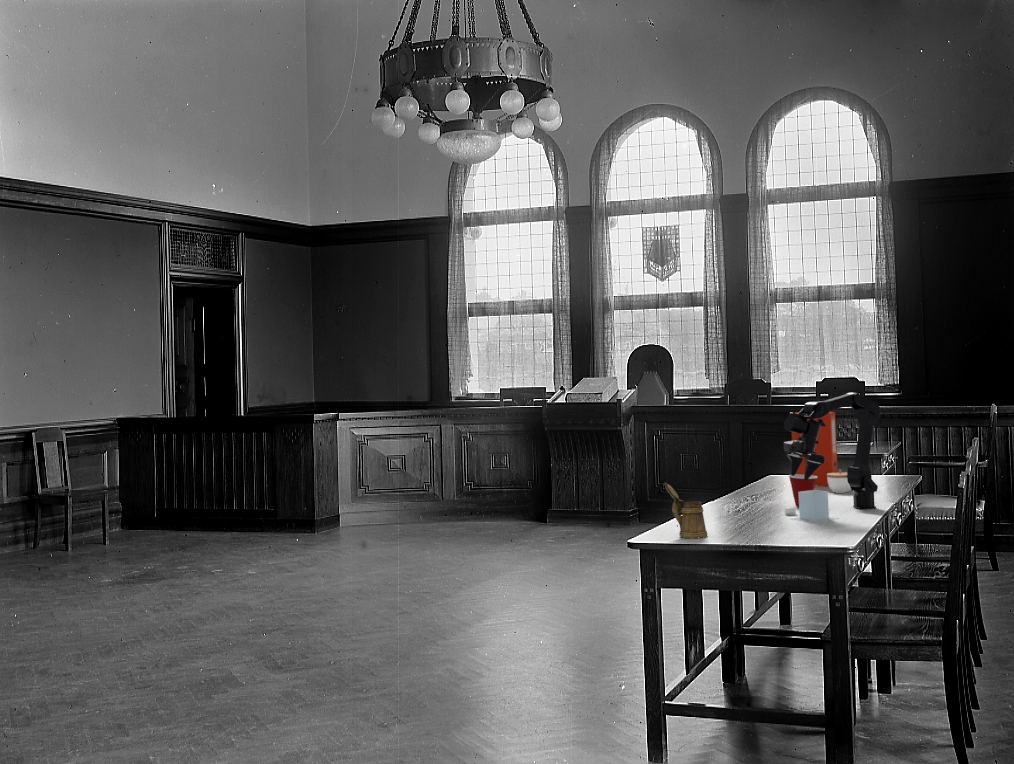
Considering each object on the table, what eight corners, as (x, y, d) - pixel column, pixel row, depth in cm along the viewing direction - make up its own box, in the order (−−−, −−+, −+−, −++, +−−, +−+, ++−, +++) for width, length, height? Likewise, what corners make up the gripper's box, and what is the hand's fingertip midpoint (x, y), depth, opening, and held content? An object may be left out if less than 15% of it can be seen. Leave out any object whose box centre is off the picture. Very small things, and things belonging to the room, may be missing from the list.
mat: (813, 516, 391) (813, 515, 391) (839, 519, 380) (839, 518, 380) (789, 520, 385) (789, 518, 385) (814, 523, 374) (814, 522, 374)
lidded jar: (826, 493, 450) (825, 471, 450) (829, 490, 460) (828, 468, 459) (853, 493, 446) (852, 471, 445) (855, 490, 456) (854, 468, 455)
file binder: (799, 483, 489) (796, 412, 488) (838, 484, 479) (835, 411, 479) (793, 485, 482) (790, 413, 481) (832, 486, 472) (829, 412, 472)
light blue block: (814, 516, 387) (812, 489, 387) (828, 518, 381) (827, 491, 381) (799, 518, 384) (798, 491, 384) (814, 520, 378) (813, 493, 378)
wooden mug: (669, 534, 368) (667, 480, 368) (709, 534, 363) (707, 480, 363) (663, 538, 360) (661, 484, 359) (704, 538, 355) (702, 483, 354)
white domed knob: (793, 514, 397) (793, 507, 397) (797, 516, 393) (797, 508, 393) (783, 515, 397) (782, 507, 397) (786, 516, 393) (786, 509, 393)
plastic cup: (820, 507, 411) (818, 476, 411) (790, 508, 413) (789, 476, 413) (817, 504, 421) (816, 473, 421) (788, 504, 424) (787, 473, 423)
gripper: (777, 428, 402) (767, 469, 402) (803, 435, 384) (792, 478, 384) (803, 434, 405) (793, 475, 405) (830, 441, 387) (819, 484, 387)
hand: (798, 477), depth 396 cm, fingers open, 9 cm apart
